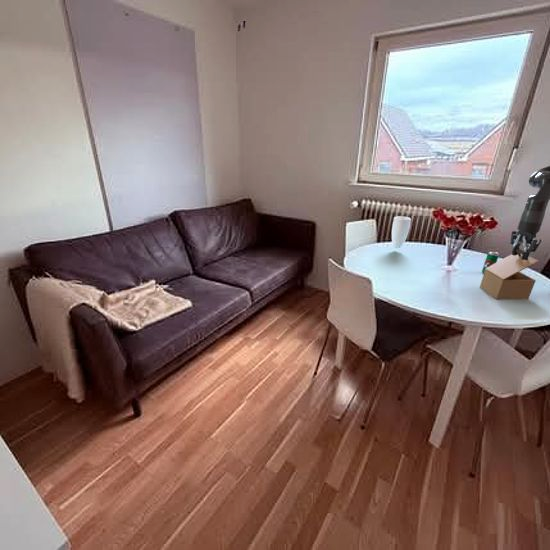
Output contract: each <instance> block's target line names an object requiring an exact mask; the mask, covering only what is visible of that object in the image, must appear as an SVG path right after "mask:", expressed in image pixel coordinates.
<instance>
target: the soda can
mask: <svg viewBox="0 0 550 550" xmlns="http://www.w3.org/2000/svg"><path fill="white" fill-rule="evenodd" d="M499 256H500V254H499V252H497V251H493V250H490V251H488V252H487V253H486V257H485V260H484V263H483V267H482V270H481V273H482V274H483V275H484V272H485V270H486V268H487V267H489V266H491V265H493V264H495V263H497V262H498V259H499Z"/></svg>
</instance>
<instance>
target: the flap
mask: <svg viewBox="0 0 550 550" xmlns="http://www.w3.org/2000/svg"><path fill="white" fill-rule="evenodd" d="M515 251H516V252H517V253H518V254H517V255H512V253H511V254H509V255H508V256H506V257H504V258H502V259H500V260H499V261H498V260H497V263H495V264H493V265H491V266H489V267H487V268H486V270H488V271H489V272H491V273H493V274H494V275H496V276H498V277H499V278H501V279H503V280H505V279H506V278H508V277H510V276H512V275H514V274H516V273H518V272H522V271H524V270H526V269H528V268H529V267H531V266H533V265H535V264H536V263H538V262H539V260H538V259H536V258H534V257H531V256H530V255H529V257H528V259H527V260H522V259H521V257H522V255H523V252H524V249H523V250H522V249H520V248H519V249H516V250H515Z"/></svg>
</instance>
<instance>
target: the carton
mask: <svg viewBox="0 0 550 550" xmlns="http://www.w3.org/2000/svg"><path fill="white" fill-rule="evenodd" d="M536 281H537V280H536V279H535V278H532V277H531V276H529V275H526V274H525V273H523V272H522V271H520V272H518V273H516V274H514V275H512V276H510V277H508V278H506V279H505V280H503V279H501V278H499V277H498V276H496V275H494V274H493V273H491V272H489V271H488V270H485V272H484V274H483V275H482V279H481V282H480V285H479V288H480V289H481V290H482V291H484V292H485V293H487V294H488V295H490V296H491V297H492V298H494V299H496V300H529V298H530V296H531V293H532V291H533V289H534V286H535V283H536Z"/></svg>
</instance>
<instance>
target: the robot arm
mask: <svg viewBox="0 0 550 550" xmlns="http://www.w3.org/2000/svg"><path fill="white" fill-rule="evenodd" d="M528 184H529V186H530V187H532V188H533V189H534V188H535V189H538V191H537V193H535V194H530V195H529V196H528V197H527V200H526V203H525V206H524V209H523V211H522V213H521V216H520V219H519V223H518V226H517V230H513V231H511V236H510V245H512V251H511V254H512V255H517V254H518V253H517V252H516V251H515V250H516V249H520V247H521V246H522V247H523V251H524V252H523V255H522V257H521V259H522V260H527V259H528V257H529V256H530V254H531V253H535V252H536V251H537V250H538V248H539V246H540V244H541V243H542V239H538V238H537V234H538V233H539V232H540V230H541V227H542V225H543V222H544V220H545V217H546V211H547V208H548V204H549V202H550V165H548V166H546V167H545V166H544V167H543V168H540V169H538V170H536V171H535V172H533V173H532V174H531V175H530V176H529V179H528Z"/></svg>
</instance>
